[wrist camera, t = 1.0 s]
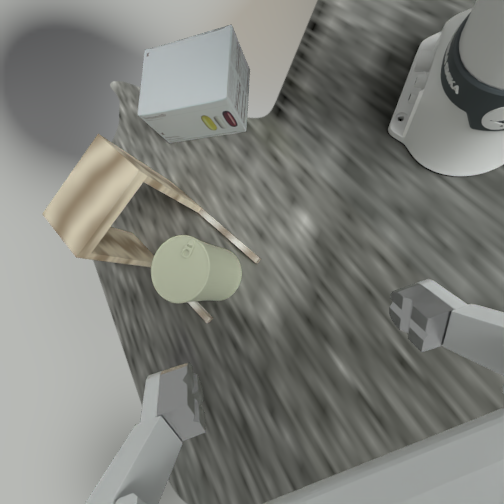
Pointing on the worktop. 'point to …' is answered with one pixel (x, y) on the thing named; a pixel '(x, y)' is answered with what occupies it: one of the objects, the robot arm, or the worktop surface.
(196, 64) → the supplement box
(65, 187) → the tunnel
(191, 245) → the can
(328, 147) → the worktop surface
